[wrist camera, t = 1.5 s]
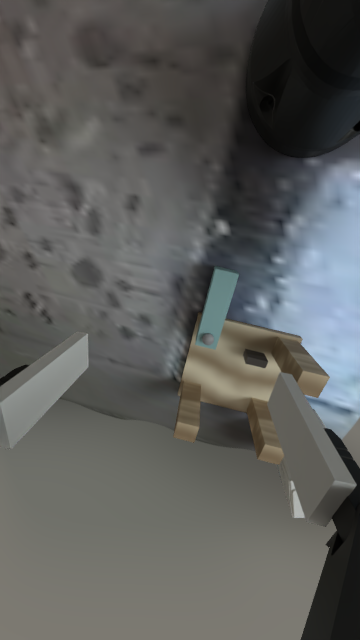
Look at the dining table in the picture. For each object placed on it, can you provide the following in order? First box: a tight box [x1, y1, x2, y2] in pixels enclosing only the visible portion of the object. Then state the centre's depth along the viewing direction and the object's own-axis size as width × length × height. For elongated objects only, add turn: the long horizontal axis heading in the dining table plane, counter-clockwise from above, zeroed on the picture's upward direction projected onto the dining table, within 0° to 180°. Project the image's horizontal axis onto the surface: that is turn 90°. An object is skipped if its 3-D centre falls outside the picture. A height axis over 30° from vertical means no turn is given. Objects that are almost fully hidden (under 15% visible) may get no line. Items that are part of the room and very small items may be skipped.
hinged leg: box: [195, 266, 239, 350], centre depth 30 cm, size 11×3×4 cm, turn 168°
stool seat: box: [173, 312, 330, 465], centre depth 31 cm, size 16×16×10 cm
